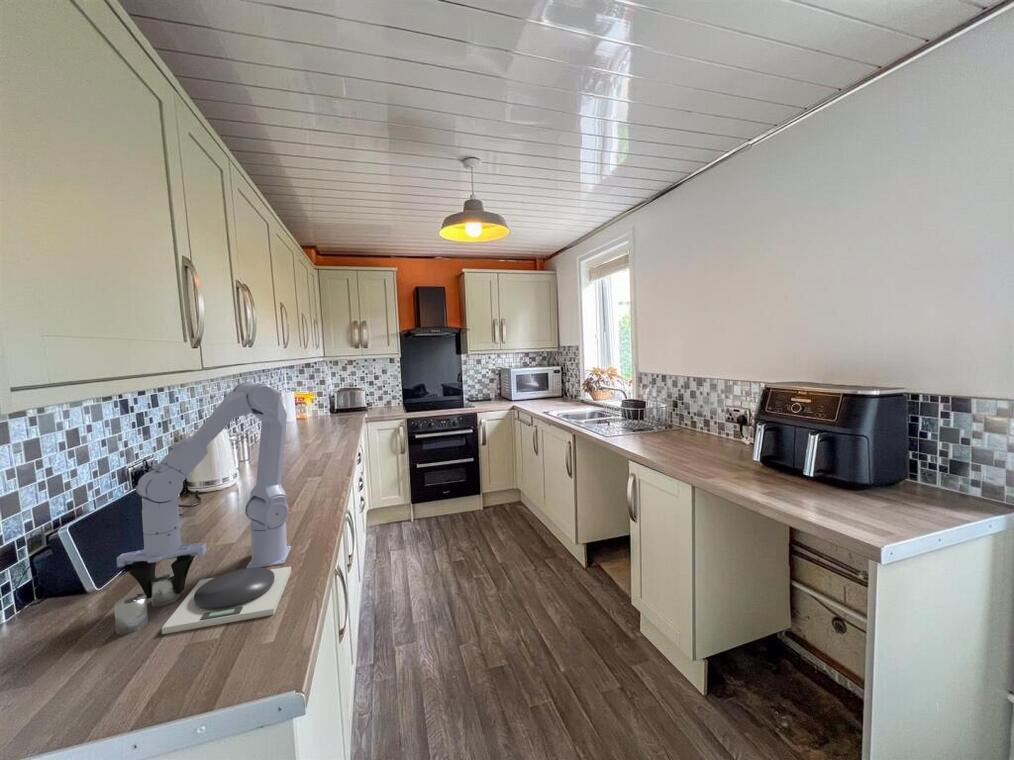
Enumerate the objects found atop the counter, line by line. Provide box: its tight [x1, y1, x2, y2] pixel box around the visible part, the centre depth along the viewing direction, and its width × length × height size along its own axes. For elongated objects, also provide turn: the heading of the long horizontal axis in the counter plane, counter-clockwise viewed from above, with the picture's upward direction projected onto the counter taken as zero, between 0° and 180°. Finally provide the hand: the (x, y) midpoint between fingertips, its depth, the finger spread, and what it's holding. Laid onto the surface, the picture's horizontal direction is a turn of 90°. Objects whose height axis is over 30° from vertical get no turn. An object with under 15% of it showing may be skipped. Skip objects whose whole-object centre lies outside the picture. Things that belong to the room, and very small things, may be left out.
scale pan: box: [194, 567, 275, 609], centre depth 86 cm, size 14×14×1 cm
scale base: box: [161, 566, 292, 635], centre depth 85 cm, size 17×18×2 cm
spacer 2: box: [151, 570, 181, 608], centre depth 85 cm, size 4×4×5 cm
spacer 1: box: [113, 593, 149, 635], centre depth 77 cm, size 4×4×5 cm
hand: (165, 593), depth 85 cm, fingers closed on spacer 2, 4 cm apart
